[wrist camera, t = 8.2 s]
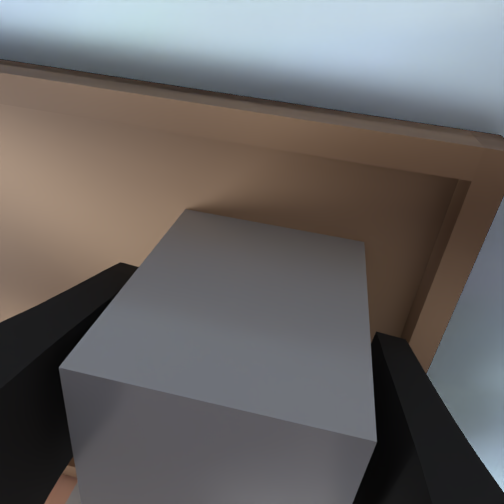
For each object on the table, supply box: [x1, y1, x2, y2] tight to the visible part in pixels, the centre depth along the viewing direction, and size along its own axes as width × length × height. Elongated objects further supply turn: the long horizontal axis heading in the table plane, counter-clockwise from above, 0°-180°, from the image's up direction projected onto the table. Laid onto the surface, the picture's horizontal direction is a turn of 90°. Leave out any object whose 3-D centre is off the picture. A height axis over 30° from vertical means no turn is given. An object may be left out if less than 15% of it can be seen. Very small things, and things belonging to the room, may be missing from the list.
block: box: [59, 209, 377, 504], centre depth 8 cm, size 4×4×5 cm
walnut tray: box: [0, 59, 504, 478], centre depth 12 cm, size 13×13×1 cm
